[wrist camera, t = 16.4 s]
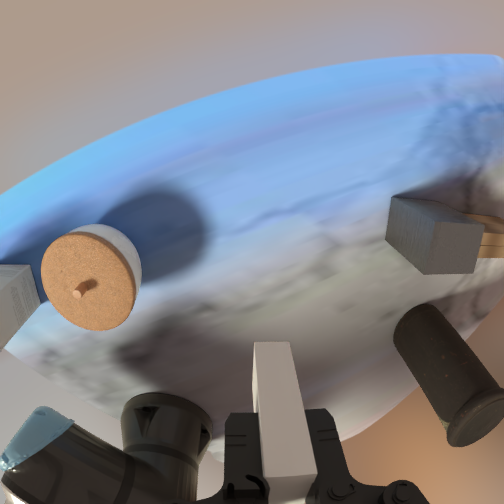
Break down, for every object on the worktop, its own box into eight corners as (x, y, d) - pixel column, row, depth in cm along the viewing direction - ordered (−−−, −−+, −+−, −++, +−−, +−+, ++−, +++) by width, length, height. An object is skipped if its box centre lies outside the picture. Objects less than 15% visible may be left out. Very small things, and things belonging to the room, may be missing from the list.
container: (387, 357, 43) (442, 463, 25) (393, 308, 40) (468, 416, 21) (435, 344, 43) (498, 435, 25) (444, 296, 40) (527, 386, 21)
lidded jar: (104, 192, 33) (64, 216, 24) (171, 258, 36) (152, 300, 27) (57, 253, 35) (18, 288, 26) (117, 310, 38) (92, 357, 30)
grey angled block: (385, 239, 36) (423, 274, 27) (391, 196, 34) (435, 221, 25) (430, 241, 36) (473, 273, 28) (437, 201, 34) (484, 225, 26)
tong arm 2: (398, 219, 35) (433, 243, 27) (399, 207, 34) (435, 229, 27) (497, 226, 36) (533, 247, 28) (499, 217, 35) (536, 236, 28)
